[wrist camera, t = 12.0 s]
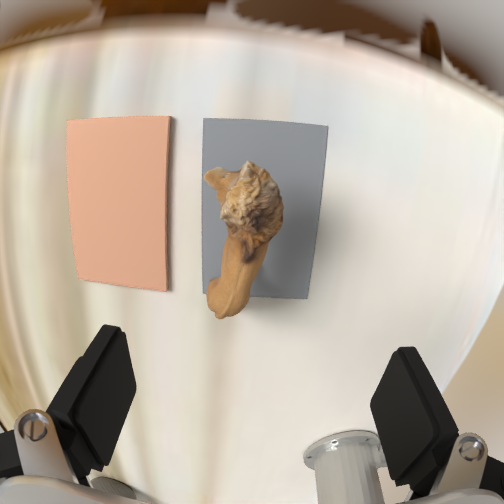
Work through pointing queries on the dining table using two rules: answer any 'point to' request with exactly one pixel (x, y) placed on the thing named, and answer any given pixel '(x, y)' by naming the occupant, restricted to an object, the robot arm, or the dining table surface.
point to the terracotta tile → (119, 199)
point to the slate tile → (291, 189)
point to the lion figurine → (243, 232)
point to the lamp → (112, 487)
